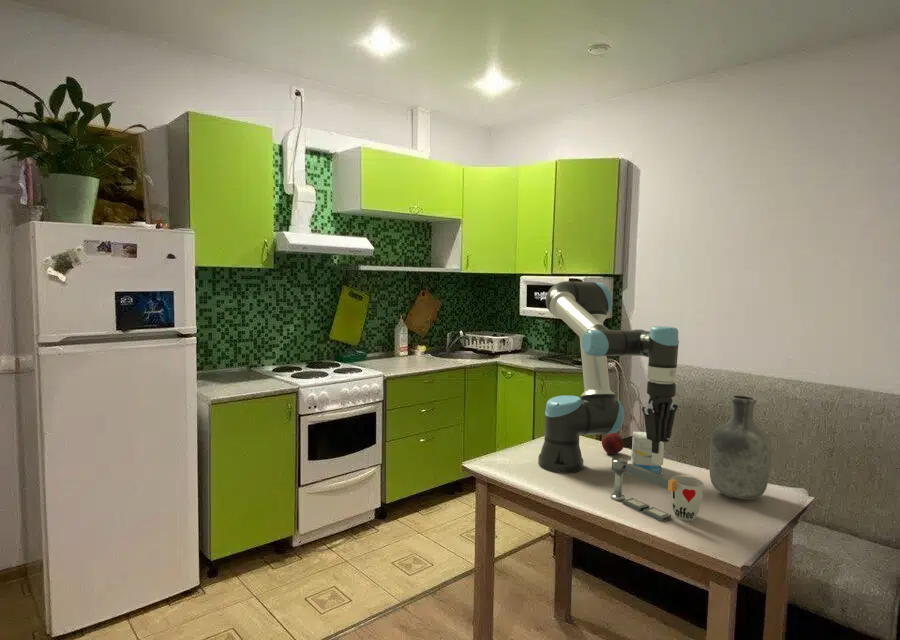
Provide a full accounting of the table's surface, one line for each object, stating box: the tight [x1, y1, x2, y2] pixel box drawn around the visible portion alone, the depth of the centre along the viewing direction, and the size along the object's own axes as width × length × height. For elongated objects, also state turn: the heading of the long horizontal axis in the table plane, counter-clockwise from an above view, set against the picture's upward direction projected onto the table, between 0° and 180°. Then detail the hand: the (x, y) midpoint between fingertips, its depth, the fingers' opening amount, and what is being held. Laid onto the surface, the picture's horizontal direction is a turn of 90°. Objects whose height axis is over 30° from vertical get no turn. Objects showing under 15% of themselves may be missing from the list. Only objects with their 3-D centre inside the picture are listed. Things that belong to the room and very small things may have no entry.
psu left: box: [622, 497, 651, 513], centre depth 155 cm, size 6×4×1 cm, turn 32°
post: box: [610, 471, 626, 502], centre depth 160 cm, size 4×4×8 cm
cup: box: [670, 475, 705, 522], centre depth 148 cm, size 8×8×10 cm
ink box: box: [630, 431, 662, 475], centre depth 186 cm, size 8×8×12 cm
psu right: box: [642, 506, 672, 522], centre depth 149 cm, size 6×4×1 cm, turn 32°
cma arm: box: [610, 457, 677, 493], centre depth 153 cm, size 20×4×3 cm, turn 32°
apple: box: [601, 432, 625, 456], centre depth 201 cm, size 7×8×8 cm
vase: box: [709, 394, 772, 500], centre depth 164 cm, size 16×16×30 cm
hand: (657, 463), depth 155 cm, fingers closed
